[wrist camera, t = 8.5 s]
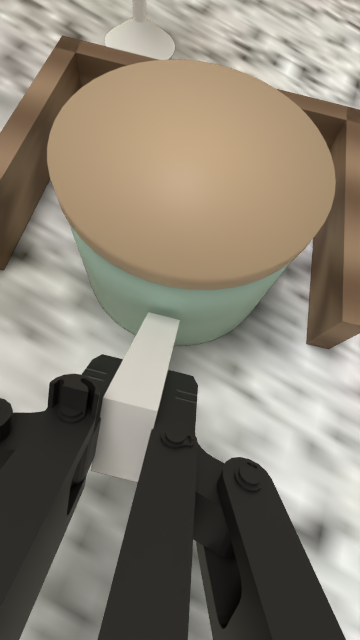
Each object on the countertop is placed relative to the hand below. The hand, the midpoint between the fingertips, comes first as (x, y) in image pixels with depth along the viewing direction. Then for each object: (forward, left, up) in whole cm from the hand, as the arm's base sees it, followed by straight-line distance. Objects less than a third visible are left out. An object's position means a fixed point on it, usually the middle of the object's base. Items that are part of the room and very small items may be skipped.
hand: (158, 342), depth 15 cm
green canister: (+6, +4, -4) cm, 8 cm away
